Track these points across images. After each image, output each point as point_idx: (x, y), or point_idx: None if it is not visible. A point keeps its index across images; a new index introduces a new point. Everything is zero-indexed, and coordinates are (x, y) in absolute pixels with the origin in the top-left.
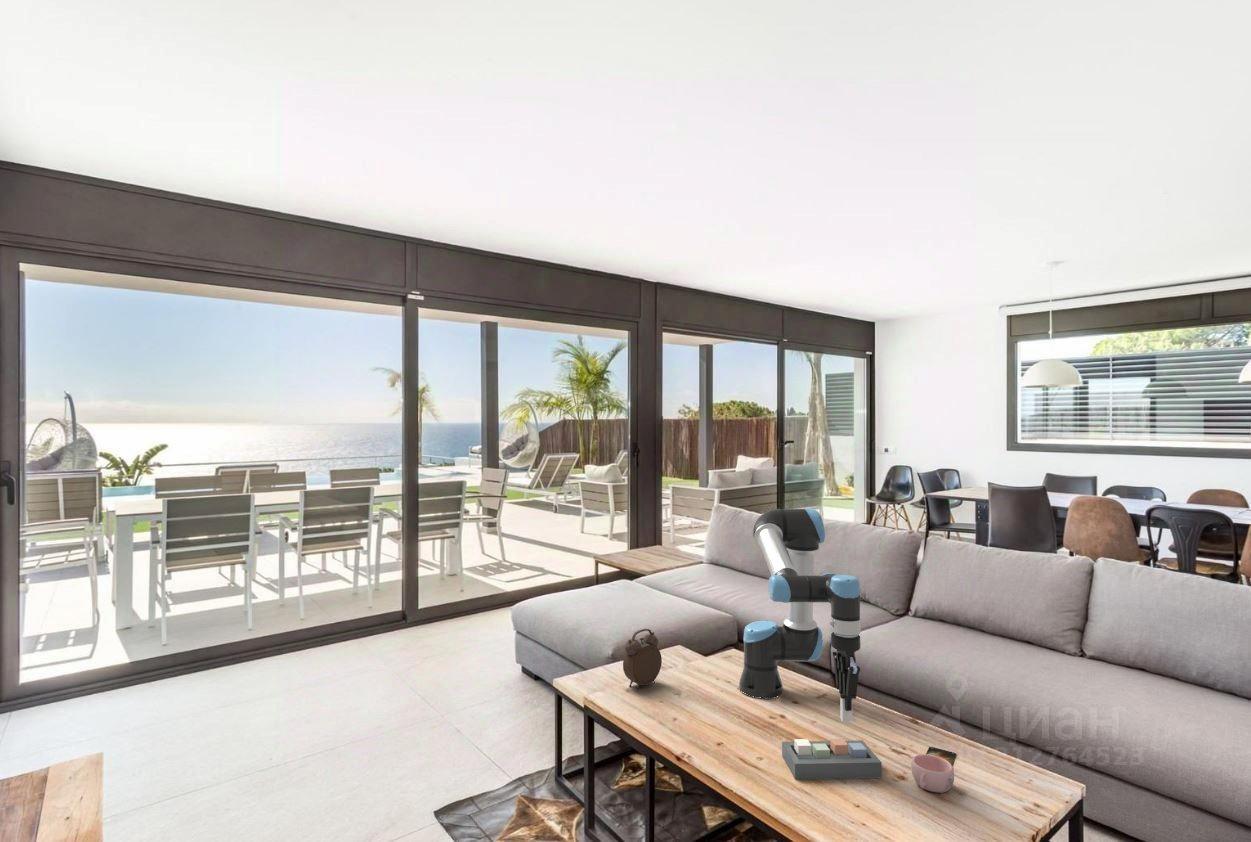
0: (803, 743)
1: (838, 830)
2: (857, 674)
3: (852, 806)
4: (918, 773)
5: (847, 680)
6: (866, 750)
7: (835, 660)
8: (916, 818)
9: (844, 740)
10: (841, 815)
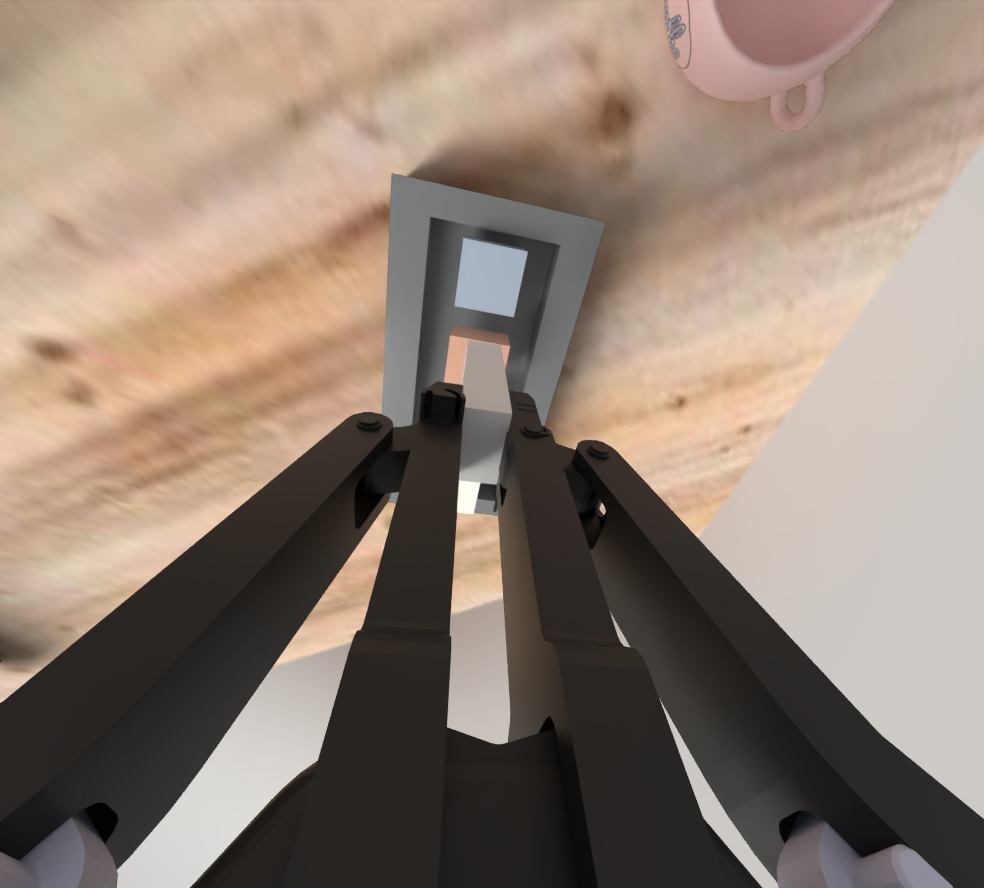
0: (461, 495)
1: (729, 490)
2: (875, 751)
3: (676, 416)
4: (774, 93)
5: (655, 668)
6: (527, 252)
7: (147, 827)
8: (825, 266)
9: (468, 339)
10: (691, 459)
